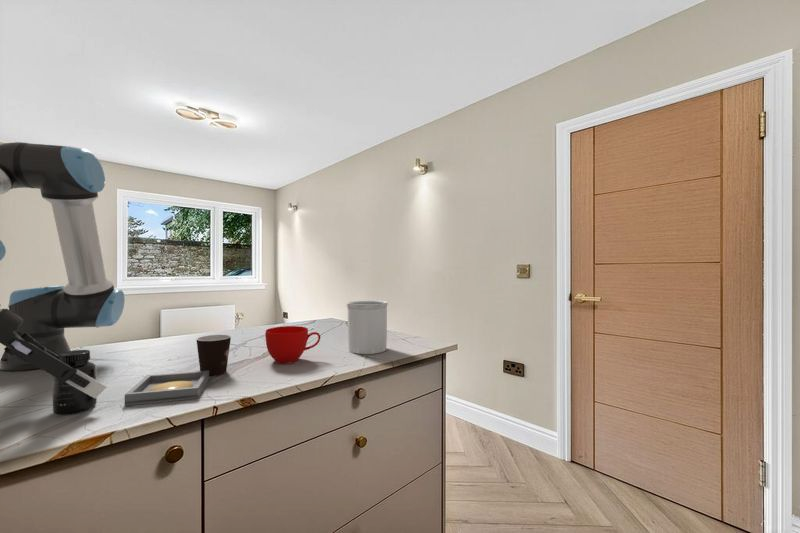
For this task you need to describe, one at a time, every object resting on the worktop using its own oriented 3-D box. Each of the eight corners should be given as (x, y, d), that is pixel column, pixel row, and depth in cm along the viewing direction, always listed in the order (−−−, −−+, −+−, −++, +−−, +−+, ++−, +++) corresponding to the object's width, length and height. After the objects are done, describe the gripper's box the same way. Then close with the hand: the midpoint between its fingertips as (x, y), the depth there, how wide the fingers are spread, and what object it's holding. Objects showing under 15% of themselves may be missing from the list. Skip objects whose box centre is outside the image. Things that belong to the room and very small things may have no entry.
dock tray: (146, 384, 89) (147, 375, 89) (209, 379, 94) (209, 370, 94) (124, 405, 76) (124, 394, 76) (198, 398, 81) (198, 387, 81)
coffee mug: (216, 379, 94) (216, 341, 94) (188, 376, 96) (188, 340, 96) (243, 366, 106) (244, 333, 106) (218, 365, 108) (218, 332, 108)
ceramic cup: (320, 364, 109) (320, 332, 109) (262, 367, 105) (262, 334, 105) (319, 354, 122) (320, 325, 122) (268, 356, 118) (268, 326, 118)
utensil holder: (340, 353, 123) (341, 303, 123) (353, 344, 137) (353, 299, 137) (382, 356, 120) (382, 304, 120) (390, 346, 135) (391, 300, 135)
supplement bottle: (71, 403, 77) (71, 348, 77) (104, 402, 78) (105, 348, 78) (42, 416, 70) (42, 356, 70) (79, 415, 71) (79, 356, 71)
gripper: (-42, 331, 69) (69, 391, 81) (-42, 349, 55) (90, 417, 68) (-1, 302, 73) (98, 363, 85) (8, 311, 60) (125, 382, 72)
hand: (95, 387), depth 77 cm, fingers open, 9 cm apart
